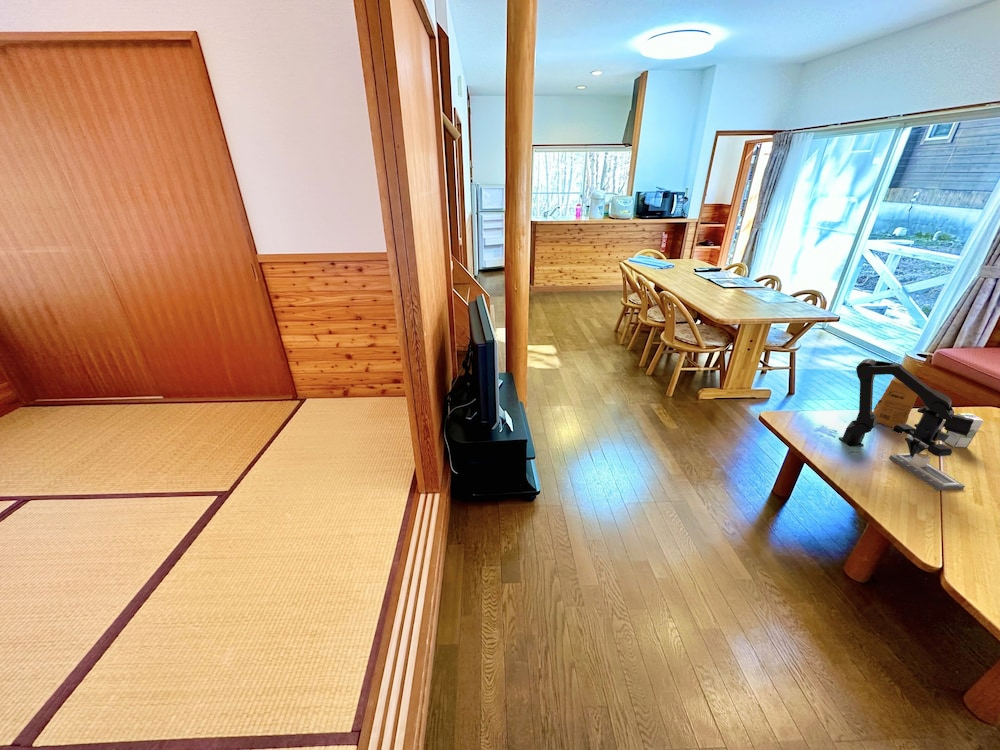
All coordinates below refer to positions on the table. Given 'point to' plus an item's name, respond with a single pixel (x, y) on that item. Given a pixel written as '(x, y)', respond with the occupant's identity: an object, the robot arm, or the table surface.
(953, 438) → the syrup box
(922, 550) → the table surface
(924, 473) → the fader console
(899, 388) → the coffee package
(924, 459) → the fader knob
